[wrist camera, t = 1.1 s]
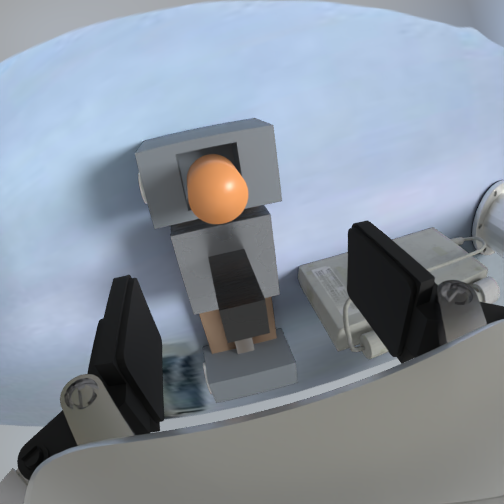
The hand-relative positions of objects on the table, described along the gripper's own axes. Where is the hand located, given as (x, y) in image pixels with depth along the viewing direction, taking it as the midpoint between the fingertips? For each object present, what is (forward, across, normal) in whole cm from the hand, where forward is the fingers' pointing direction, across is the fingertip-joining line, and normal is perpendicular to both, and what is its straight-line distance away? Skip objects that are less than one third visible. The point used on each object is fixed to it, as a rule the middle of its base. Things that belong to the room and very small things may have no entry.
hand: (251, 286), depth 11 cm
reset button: (+13, 0, 0) cm, 13 cm away
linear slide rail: (+20, 0, +11) cm, 23 cm away
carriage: (+17, 0, +8) cm, 19 cm away
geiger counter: (+20, -20, +14) cm, 32 cm away
